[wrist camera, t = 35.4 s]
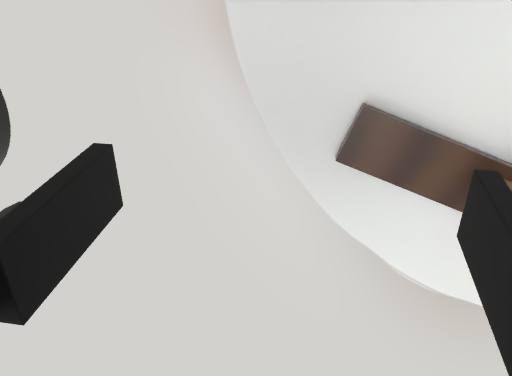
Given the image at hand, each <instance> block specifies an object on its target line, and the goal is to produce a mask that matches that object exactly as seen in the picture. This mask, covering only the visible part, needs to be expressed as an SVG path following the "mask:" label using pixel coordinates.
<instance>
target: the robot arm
mask: <svg viewBox="0 0 512 376" xmlns="http://www.w3.org/2000/svg"><path fill="white" fill-rule="evenodd" d="M122 206H123V202H122V196H121V191H120V185H119V180H118V174H117V169H116V163H115V157H114V152H113V146H112V144H98V143H93V144H92V145H91V146H90V147H89V148H87V149H86V150H85V151H84V152H82V153H81V154H80V155H79V156H77V157H76V158H75V159H74V160H72V161H71V162H70V163H69V164H68V165H66V166H65V167H64V168H63V169H62V170H60V171H59V172H58V173H56V174H55V175H54V176H53V177H52V178H50V179H49V180H48V181H47V182H46V183H44V184H43V185H42V186H41V187H39V188H38V189H37V190H36V191H35V192H33V193H32V194H31V195H30V196H28V197H27V198H26V199H25V200H24V201H22V202H18V203H15V204H13V205H11V206H9V207H7V208H5V209H3V210H2V211H1V212H0V322H3V323H10V324H17V325H24V324H25V323H26V322H27V321H28V320H29V318H30V317H31V316H32V315H33V314H34V312H35V311H36V310H37V309H38V307H39V306H40V305H41V304H42V303H43V301H44V300H45V299H46V298H47V296H48V295H49V294H50V293H51V292H52V291H53V289H54V288H55V287H56V286H57V285H58V283H59V282H60V281H61V280H62V279H63V277H64V276H65V275H66V274H67V273H68V271H69V270H70V269H71V268H72V267H73V265H74V264H75V263H76V261H78V259H79V258H80V257H81V256H82V254H83V253H84V252H85V251H86V250H87V248H88V247H89V246H90V245H91V244H92V242H93V241H94V240H95V239H96V238H97V236H98V235H99V234H100V233H101V231H102V230H103V229H104V228H105V227H106V226H107V224H108V223H109V222H110V221H111V220H112V218H113V217H114V216H115V215H116V214H117V212H118V211H119V210H120V209H121V208H122ZM457 238H458V241H459V243H460V246H461V249H462V251H463V254H464V257H465V259H466V262H467V265H468V267H469V270H470V273H471V275H472V278H473V281H474V283H475V286H476V289H477V291H478V294H479V297H480V299H481V302H482V305H483V308H484V310H485V313H486V316H487V318H488V321H489V324H490V326H491V329H492V331H493V334H494V337H495V340H496V342H497V345H498V348H499V350H500V353H501V356H502V358H503V361H504V364H505V366H506V369H507V372H508V374H509V376H512V191H511V189H510V188H509V186H508V185H507V183H506V182H505V180H504V179H503V177H502V176H501V174H500V173H499V171H491V170H476V169H474V172H473V176H472V180H471V184H470V188H469V191H468V195H467V199H466V203H465V207H464V210H463V214H462V218H461V222H460V226H459V229H458V233H457Z"/></svg>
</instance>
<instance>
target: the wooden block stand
mask: <svg viewBox="0 0 512 376" xmlns="http://www.w3.org/2000/svg"><path fill="white" fill-rule="evenodd" d="M336 161H337V162H340V163H342V164H345V165H347V166H350V167H352V168H355V169H357V170H360V171H362V172H365V173H367V174H370V175H372V176H374V177H377V178H379V179H382V180H384V181H387V182H389V183H392V184H394V185H397V186H399V187H402V188H404V189H407V190H409V191H411V192H414V193H416V194H419V195H421V196H424V197H426V198H429V199H431V200H434V201H436V202H439V203H441V204H444V205H446V206H448V207H451V208H453V209H456V210H458V211H461V212H463V210H464V207H465V203H466V199H467V195H468V191H469V188H470V184H471V180H472V176H473V172H474V169H476V170H491V171H499V173H500V174H501V176H502V177H503V179H504V180H505V182H506V183H507V185H508V186H509V188H510V189H511V191H512V164H510V163H508V162H505V161H503V160H500V159H498V158H495V157H493V156H490V155H488V154H486V153H483V152H481V151H478V150H476V149H473V148H471V147H468V146H466V145H464V144H461V143H459V142H456V141H454V140H451V139H449V138H446V137H444V136H442V135H439V134H437V133H434V132H432V131H429V130H427V129H424V128H422V127H420V126H417V125H415V124H412V123H410V122H407V121H405V120H402V119H400V118H398V117H395V116H393V115H390V114H388V113H385V112H383V111H381V110H378V109H376V108H373V107H371V106H368V105H366V104H363V105H362V107H361V108H360V110H359V112H358V114H357V116H356V118H355V120H354V122H353V124H352V126H351V128H350V130H349V132H348V134H347V136H346V138H345V140H344V142H343V144H342V146H341V148H340V150H339V151H338V153H337V155H336Z"/></svg>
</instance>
